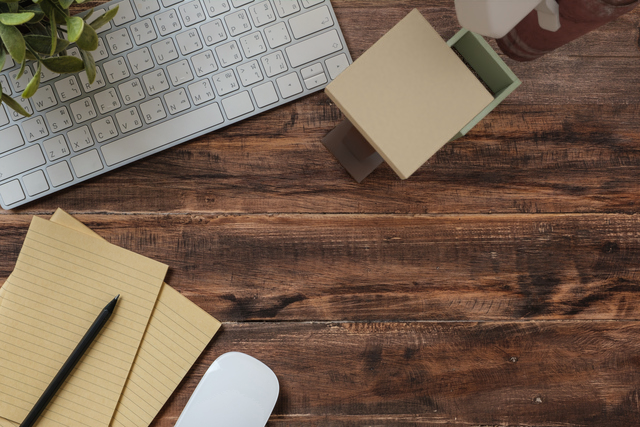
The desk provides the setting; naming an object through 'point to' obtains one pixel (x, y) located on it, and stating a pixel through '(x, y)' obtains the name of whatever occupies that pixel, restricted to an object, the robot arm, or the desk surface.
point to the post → (352, 150)
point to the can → (575, 19)
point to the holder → (484, 71)
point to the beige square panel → (408, 94)
